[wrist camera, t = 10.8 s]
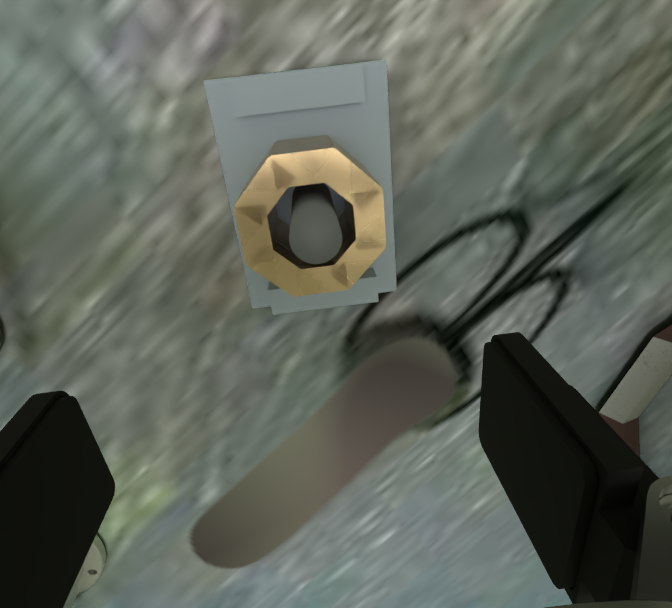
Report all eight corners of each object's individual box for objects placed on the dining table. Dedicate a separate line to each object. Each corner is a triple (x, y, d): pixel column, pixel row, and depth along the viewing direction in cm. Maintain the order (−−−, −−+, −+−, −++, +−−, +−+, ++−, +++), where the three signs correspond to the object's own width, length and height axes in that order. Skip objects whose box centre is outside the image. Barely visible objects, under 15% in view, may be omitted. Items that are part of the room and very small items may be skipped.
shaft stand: (392, 281, 31) (426, 354, 23) (254, 299, 31) (237, 378, 23) (381, 60, 25) (423, 47, 17) (208, 81, 25) (160, 77, 16)
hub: (371, 247, 28) (388, 284, 23) (262, 261, 28) (253, 301, 23) (363, 130, 25) (380, 142, 20) (239, 145, 25) (223, 161, 20)
